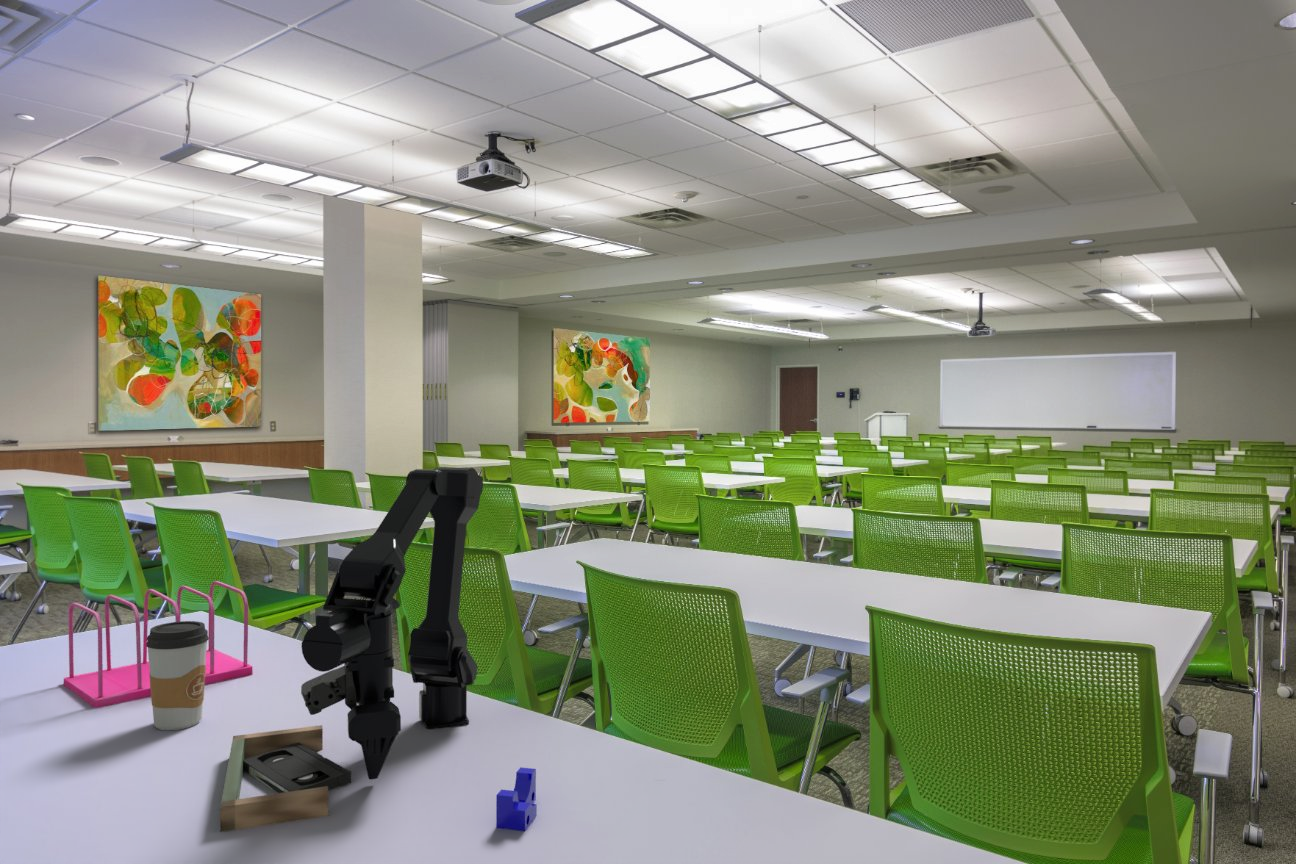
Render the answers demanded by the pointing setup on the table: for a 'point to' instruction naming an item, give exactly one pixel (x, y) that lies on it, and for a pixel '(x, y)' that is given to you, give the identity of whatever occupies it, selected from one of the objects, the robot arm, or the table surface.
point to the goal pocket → (274, 805)
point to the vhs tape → (295, 769)
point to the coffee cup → (177, 673)
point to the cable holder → (517, 802)
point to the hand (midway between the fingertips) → (370, 764)
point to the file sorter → (135, 677)
